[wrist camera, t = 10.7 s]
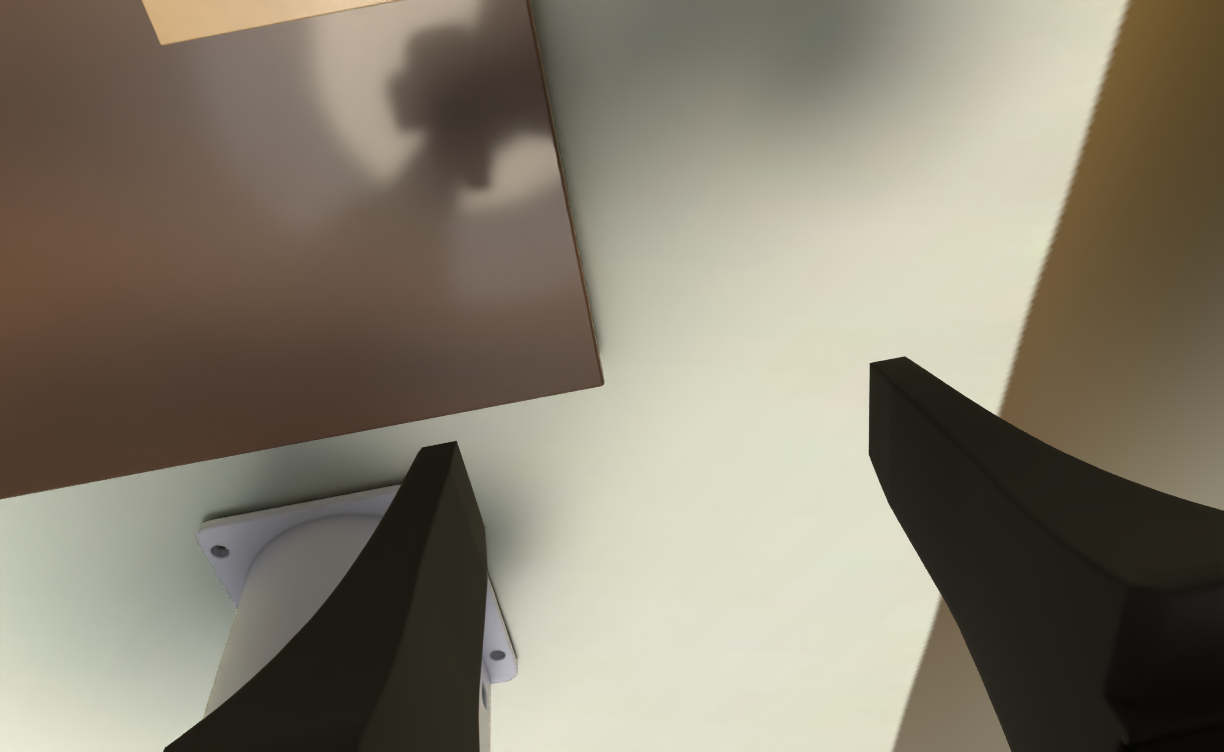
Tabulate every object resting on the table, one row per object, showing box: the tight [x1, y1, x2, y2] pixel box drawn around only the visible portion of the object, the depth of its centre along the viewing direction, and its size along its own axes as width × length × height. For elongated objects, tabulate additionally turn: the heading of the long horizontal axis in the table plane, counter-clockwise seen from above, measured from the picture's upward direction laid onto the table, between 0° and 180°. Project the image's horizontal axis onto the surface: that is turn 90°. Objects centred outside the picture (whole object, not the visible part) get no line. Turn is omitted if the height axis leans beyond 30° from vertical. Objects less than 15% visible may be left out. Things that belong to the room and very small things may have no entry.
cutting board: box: [0, 0, 604, 499], centre depth 20 cm, size 18×18×2 cm
